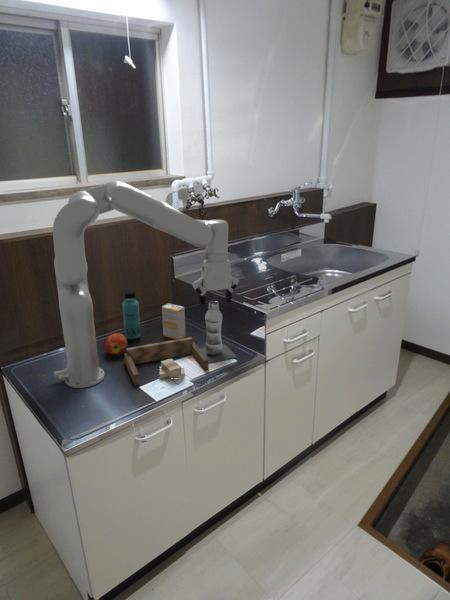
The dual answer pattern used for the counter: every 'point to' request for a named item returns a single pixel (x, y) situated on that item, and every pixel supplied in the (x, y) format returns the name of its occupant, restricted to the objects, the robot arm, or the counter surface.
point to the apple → (116, 344)
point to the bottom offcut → (165, 376)
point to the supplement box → (173, 321)
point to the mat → (220, 355)
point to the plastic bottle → (213, 329)
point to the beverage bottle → (131, 316)
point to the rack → (162, 354)
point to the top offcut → (171, 367)
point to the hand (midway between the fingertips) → (215, 303)
